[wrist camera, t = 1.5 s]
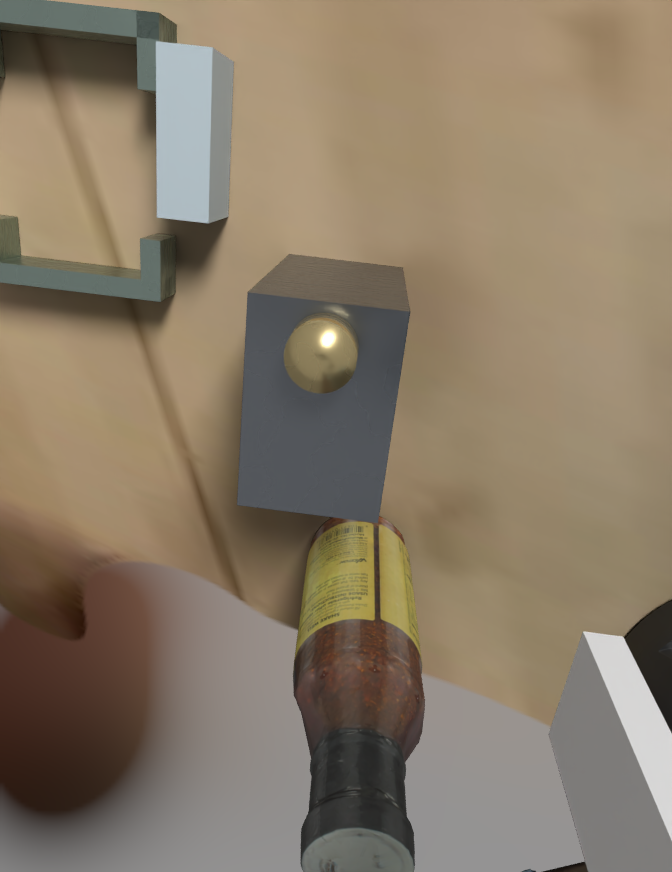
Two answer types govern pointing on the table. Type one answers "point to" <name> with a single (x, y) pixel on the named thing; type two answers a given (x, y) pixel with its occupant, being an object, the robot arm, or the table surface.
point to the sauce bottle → (358, 697)
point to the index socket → (31, 13)
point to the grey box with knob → (321, 386)
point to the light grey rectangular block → (193, 132)
